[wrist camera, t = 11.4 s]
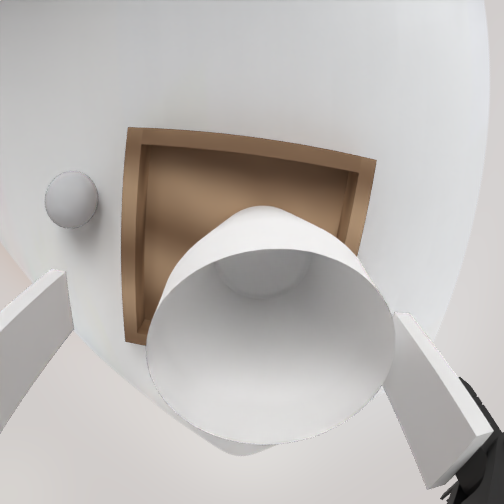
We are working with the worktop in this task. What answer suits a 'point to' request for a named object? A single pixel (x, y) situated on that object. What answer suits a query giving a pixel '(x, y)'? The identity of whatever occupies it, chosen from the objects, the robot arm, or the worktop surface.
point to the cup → (269, 331)
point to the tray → (222, 200)
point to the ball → (71, 199)
